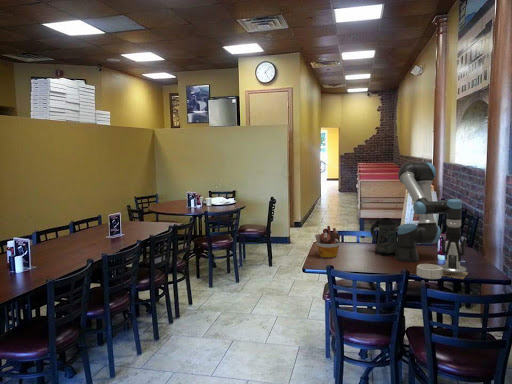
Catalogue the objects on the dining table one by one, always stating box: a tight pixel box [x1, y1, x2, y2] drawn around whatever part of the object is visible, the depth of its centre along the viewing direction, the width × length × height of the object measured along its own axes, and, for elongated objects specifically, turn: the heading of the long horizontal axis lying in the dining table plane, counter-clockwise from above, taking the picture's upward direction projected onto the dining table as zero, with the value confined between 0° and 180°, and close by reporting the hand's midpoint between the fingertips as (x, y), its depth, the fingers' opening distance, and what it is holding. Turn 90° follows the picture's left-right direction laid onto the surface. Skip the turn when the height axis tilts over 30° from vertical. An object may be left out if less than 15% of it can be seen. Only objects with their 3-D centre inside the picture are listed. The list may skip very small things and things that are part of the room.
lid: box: [439, 255, 467, 273], centre depth 234 cm, size 14×14×8 cm
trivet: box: [443, 271, 469, 280], centre depth 235 cm, size 14×14×1 cm
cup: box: [444, 240, 461, 266], centre depth 246 cm, size 8×8×16 cm
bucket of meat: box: [314, 225, 341, 258], centre depth 280 cm, size 20×16×20 cm
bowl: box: [416, 263, 444, 280], centre depth 233 cm, size 13×13×5 cm
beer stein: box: [369, 217, 398, 257], centre depth 283 cm, size 16×19×25 cm
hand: (452, 266), depth 234 cm, fingers closed on lid, 4 cm apart
